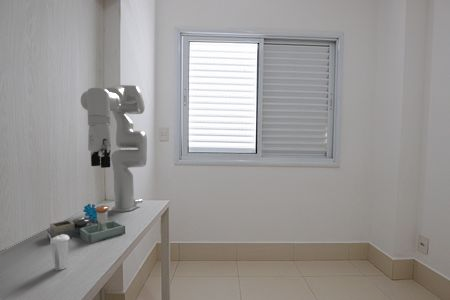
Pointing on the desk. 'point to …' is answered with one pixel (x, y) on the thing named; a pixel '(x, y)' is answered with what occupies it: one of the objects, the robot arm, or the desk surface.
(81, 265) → the desk surface
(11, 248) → the desk surface
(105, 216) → the pin
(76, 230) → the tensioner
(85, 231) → the tray
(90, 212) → the gear
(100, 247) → the desk surface
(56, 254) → the milkshake
